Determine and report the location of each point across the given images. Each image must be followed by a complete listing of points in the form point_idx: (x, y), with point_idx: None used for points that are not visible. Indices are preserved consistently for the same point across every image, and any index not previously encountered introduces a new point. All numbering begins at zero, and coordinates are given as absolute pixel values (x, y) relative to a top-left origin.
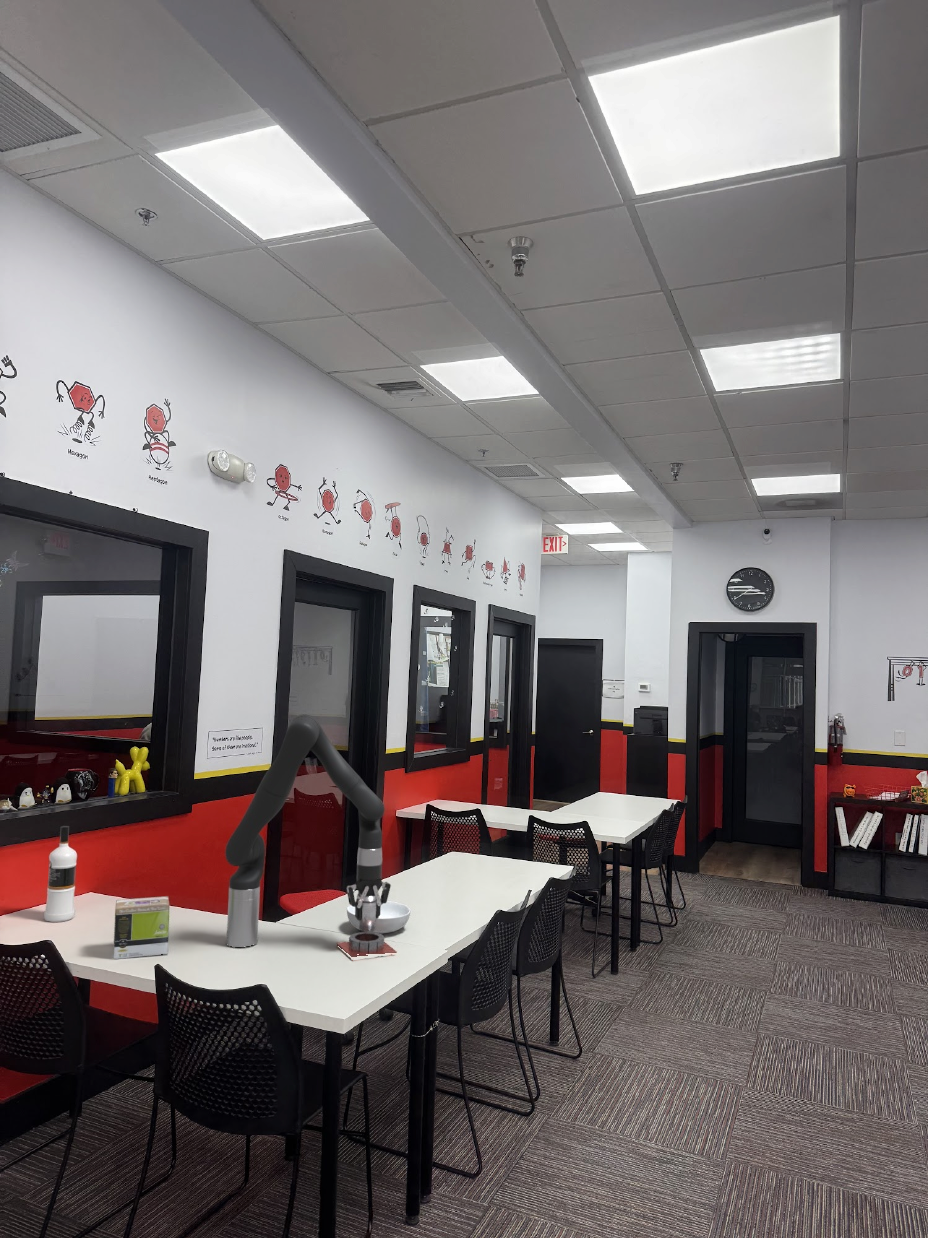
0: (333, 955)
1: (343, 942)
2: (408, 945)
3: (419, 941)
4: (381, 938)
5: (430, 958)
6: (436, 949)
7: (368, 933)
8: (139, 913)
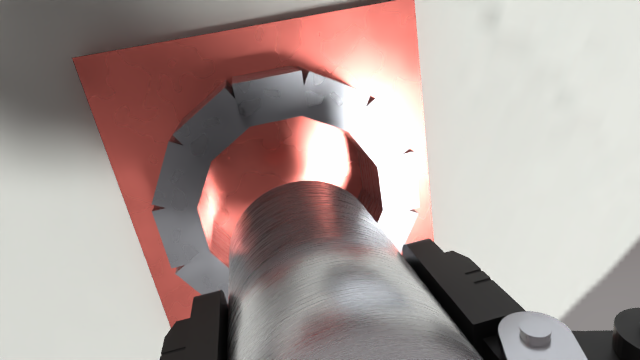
0: (60, 232)
1: (128, 54)
2: (541, 118)
3: (624, 57)
4: None
5: (555, 313)
6: (635, 202)
7: (324, 121)
8: None
